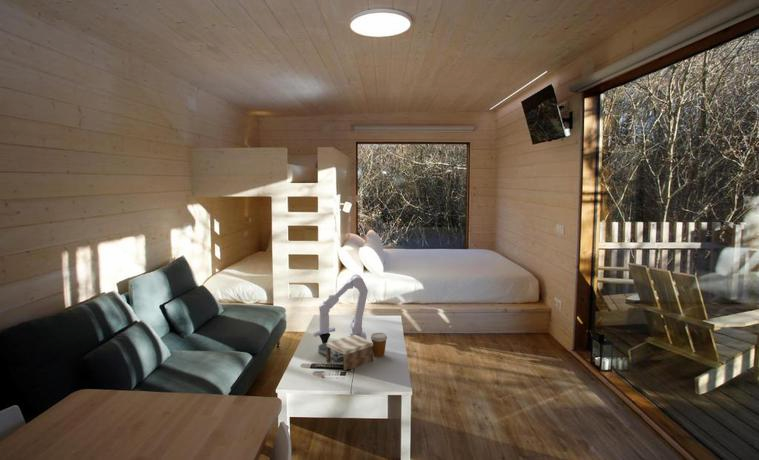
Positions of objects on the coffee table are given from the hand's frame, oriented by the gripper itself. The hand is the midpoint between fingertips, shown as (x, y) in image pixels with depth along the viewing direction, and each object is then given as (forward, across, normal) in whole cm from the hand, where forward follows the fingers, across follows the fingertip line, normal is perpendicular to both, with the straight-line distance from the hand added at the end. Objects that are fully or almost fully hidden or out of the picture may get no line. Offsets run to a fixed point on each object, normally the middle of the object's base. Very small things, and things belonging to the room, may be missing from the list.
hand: (324, 345), depth 269 cm
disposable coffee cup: (+3, -18, +28) cm, 34 cm away
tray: (+2, 0, +11) cm, 11 cm away
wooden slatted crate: (+2, 0, +24) cm, 24 cm away
